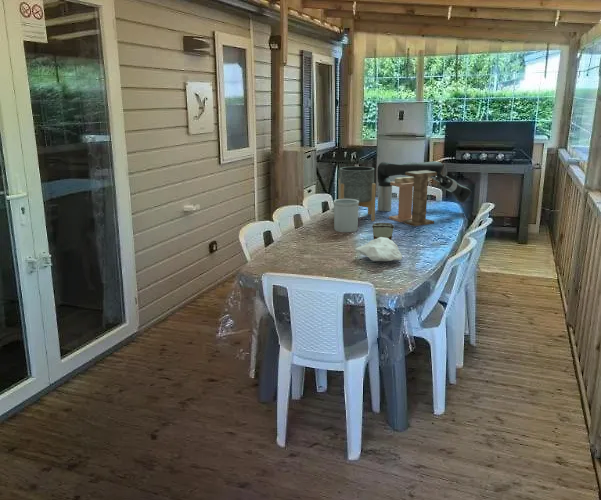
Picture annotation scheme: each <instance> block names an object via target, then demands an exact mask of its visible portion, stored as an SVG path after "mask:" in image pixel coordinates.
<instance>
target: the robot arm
mask: <svg viewBox="0 0 601 500" xmlns="http://www.w3.org/2000/svg"><path fill="white" fill-rule="evenodd" d="M443 169H444V164H443V163H442V162H440V161H436V160H434V161H426V162H425V161H424V162H423V161H422V162H414V161H412V162H411V161H409V162H405V163H391V162H388V161H382V162H380V163H379V164H378V166H377V171H376V172H377V173H376V174H377V176H376V177H377V182H378V188H377V189H378V193H377V212H391V211H392V199H393V198H392V195H393V186H392V185H390V182H393V181H392V180H391V179H390V177H392V176H404V177H407V176H406V175H405V173H406V172H412V171H423V170H427V171H433V172H437V175H436V176H431V179H432V180H433V181H435V182H438V183H439V186H440V187H441V188H443V189H445V190H446V191H448V192H450V193H451V194H452V195H454V197H455V198H456V200H457V201H458V202H459V203H464V202H466V201H467V200H468V199H469V197H470V196H471V194H472V190H471V189H470V188H468V187H466V186H464V185H461V184H460V183H458V181H456V180H455V179H453V178H451V177H449V176H446V175H444V174H442V171H443Z"/></svg>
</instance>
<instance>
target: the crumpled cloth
mask: <svg viewBox="0 0 601 500" xmlns="http://www.w3.org/2000/svg"><path fill="white" fill-rule="evenodd" d="M398 247H399V246H398V245H397V244H396V243H395V242H394V241H393V239H392V240H390V239H389V238H384V237H379V238H377V239H374V238H373V239H371V240H369V241H367V243H366V244H364V245H360V246H357V247H356V248H354V250H355V252H356V253H358V254H360V255H363V256H365V257H367V258H368V259H370V261H372V262H390V261H391V262H392V261H401V260H403V254H402V253H401V251H400V250H399V248H398Z"/></svg>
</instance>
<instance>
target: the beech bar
mask: <svg viewBox="0 0 601 500" xmlns="http://www.w3.org/2000/svg"><path fill="white" fill-rule="evenodd" d="M431 179H432V178H431V176H428V182H429V181H431ZM394 182H395V183H408V182H414V177H412V176H404V177H394Z"/></svg>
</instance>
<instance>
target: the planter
mask: <svg viewBox="0 0 601 500" xmlns="http://www.w3.org/2000/svg"><path fill="white" fill-rule="evenodd" d="M376 189H377V184H376V183H375V168H374V167H369V166H343V167H339V178H338V199H355V200H358V201H359V204H358V207H364V208H367V215H369V216H370V221H371V222H374V221H375V220H376V191H377V190H376Z"/></svg>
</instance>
